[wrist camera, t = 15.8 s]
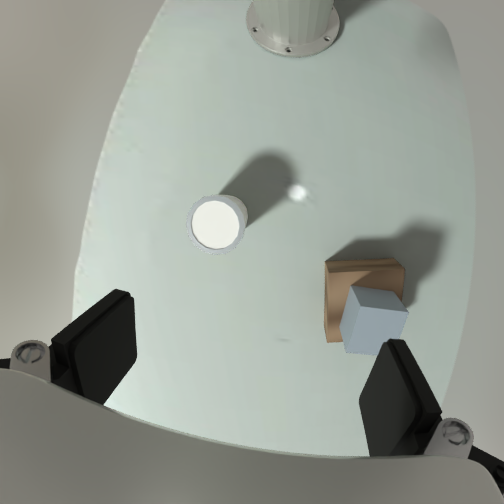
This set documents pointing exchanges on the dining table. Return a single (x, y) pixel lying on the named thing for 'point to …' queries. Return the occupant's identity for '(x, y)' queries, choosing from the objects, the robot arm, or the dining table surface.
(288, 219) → the dining table surface
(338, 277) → the walnut block
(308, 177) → the dining table surface
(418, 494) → the robot arm
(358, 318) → the slate cube
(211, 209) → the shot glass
